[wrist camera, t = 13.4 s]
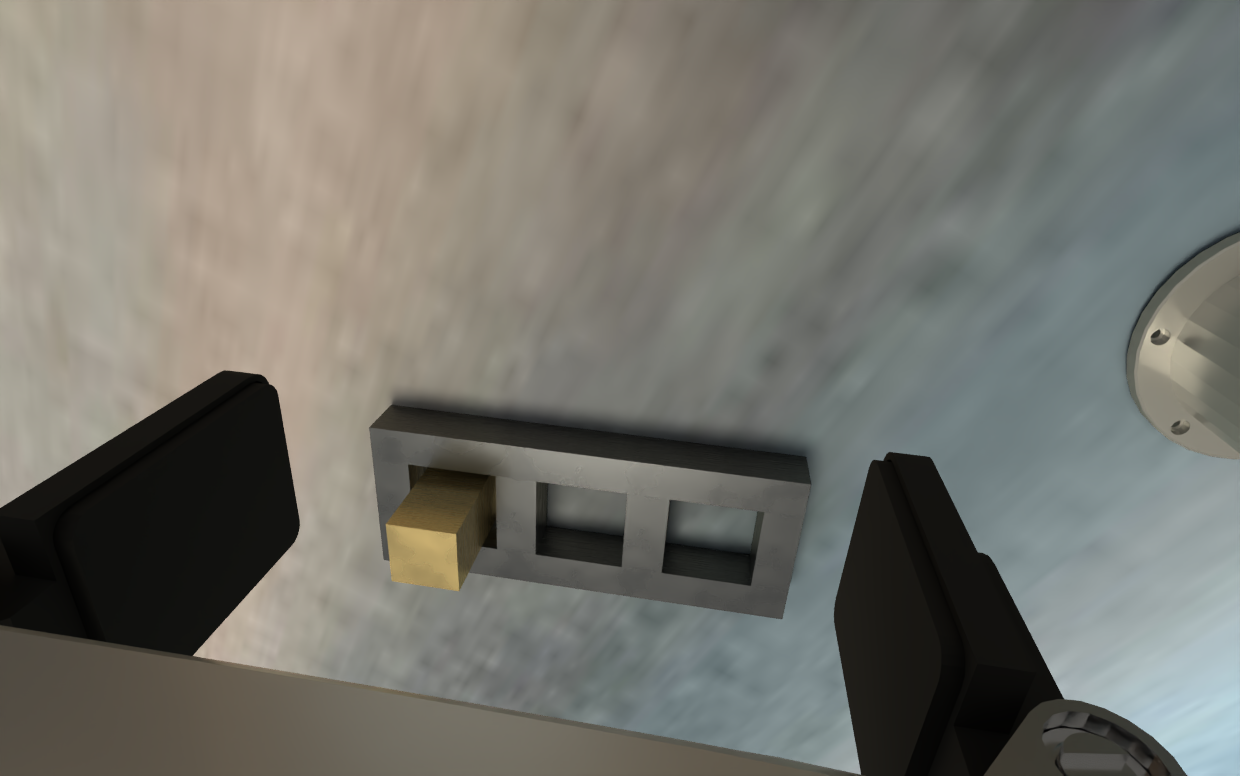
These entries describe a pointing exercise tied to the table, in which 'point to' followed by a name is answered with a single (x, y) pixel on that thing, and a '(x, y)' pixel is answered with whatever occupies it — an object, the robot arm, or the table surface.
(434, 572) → the brass peg
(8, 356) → the table surface
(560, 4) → the table surface
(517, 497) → the steel rail
